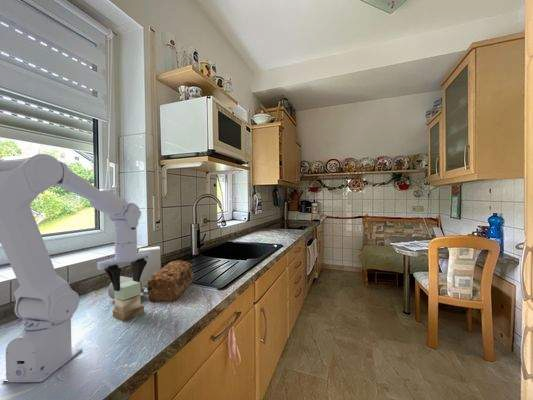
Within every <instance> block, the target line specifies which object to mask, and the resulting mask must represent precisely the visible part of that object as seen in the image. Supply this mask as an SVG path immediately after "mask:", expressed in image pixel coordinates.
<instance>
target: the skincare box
mask: <svg viewBox="0 0 533 400" xmlns="http://www.w3.org/2000/svg"><path fill="white" fill-rule="evenodd" d="M143 252H151V258H149V259H147V258H146V259H145V260H146V261H147V264H146V266H145V267H144V269H143V272H142V274H141V278H140V281H141V283H142V288H144V287H148V286H147V282H148V279H149V278H150V277H151V276H152V275H153V274H154V273H156V272H157V271H159V270H160V269H162V259H161V247H160V246H159V245H157V246H151V247H144V248H143V247H141V248H139V249H138V250H137V253H143Z"/></svg>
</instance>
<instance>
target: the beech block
mask: <svg viewBox="0 0 533 400" xmlns="http://www.w3.org/2000/svg"><path fill="white" fill-rule="evenodd" d="M141 305H142V304H141V294H140V295H137V296H134V297H131V298H128V299H126V300H121V299H118V298H115V299H114V309H115V310H117V311H119V312H121V313H122V314H124V313H126V312H129V311H131V310H134V309H136V308H139V307H141Z"/></svg>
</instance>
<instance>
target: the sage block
mask: <svg viewBox="0 0 533 400" xmlns="http://www.w3.org/2000/svg"><path fill="white" fill-rule="evenodd" d="M114 294H115V298H118V299H121V300H126V299H128V298H131V297H134V296H137V295H139V294H140V295H141V294H142V293H141V288H140V282H136V281H132V280H131V281H128V282H125V283H121V284H120V291H115V290H114Z"/></svg>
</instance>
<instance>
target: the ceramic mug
mask: <svg viewBox="0 0 533 400" xmlns="http://www.w3.org/2000/svg"><path fill="white" fill-rule="evenodd" d="M131 280H132V281H133V277H129V276H124V275H120V284H121V283H125V282H128V281H131ZM140 288H141V294H143V293H144V292H145V288H144V287H142V283H141V281H140ZM107 290H108V291H107V293H108V297H110V299H113V300H115V294H114V288H113V285H112V282H111V281H110V284H109V287H108V289H107ZM141 294H139V295H140V296H141Z"/></svg>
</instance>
